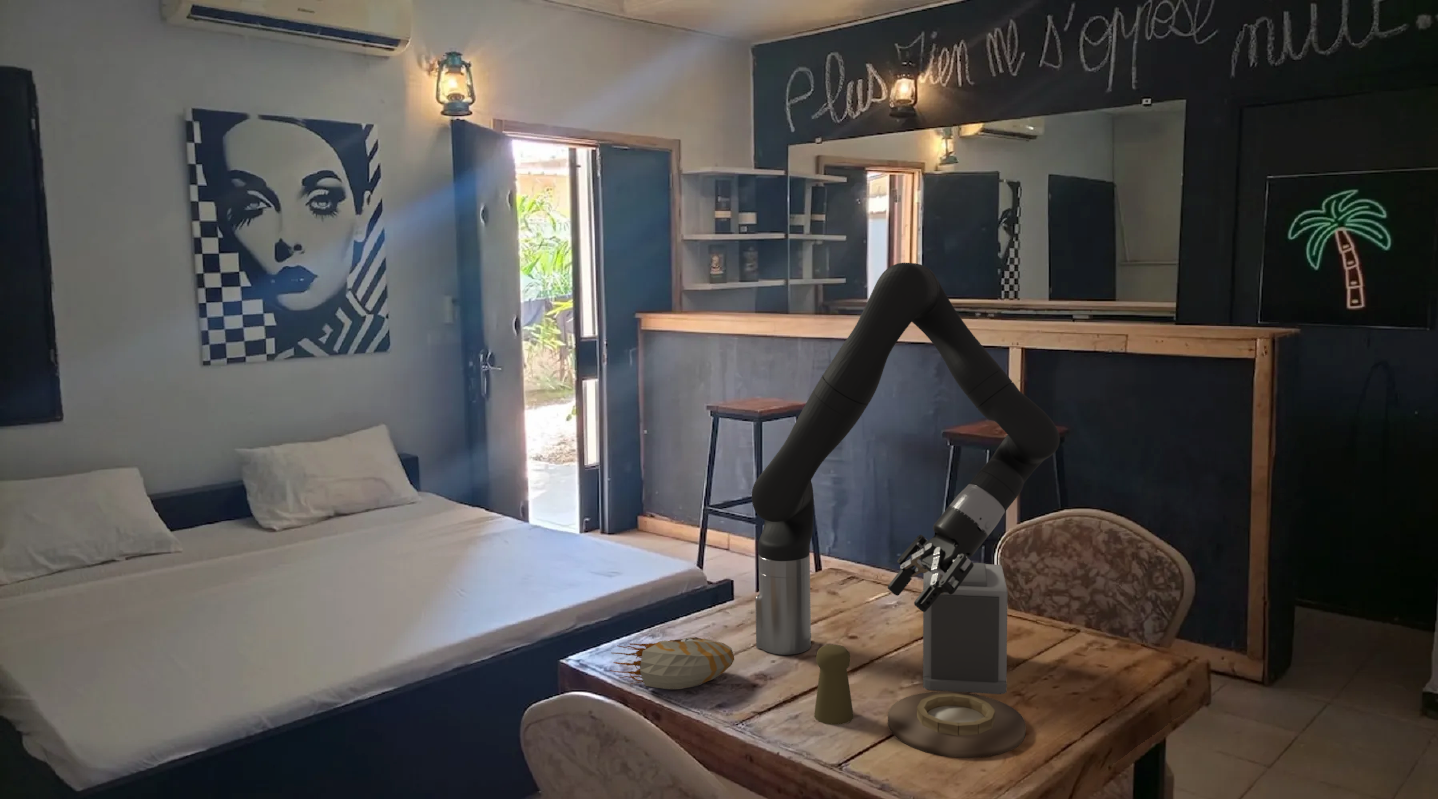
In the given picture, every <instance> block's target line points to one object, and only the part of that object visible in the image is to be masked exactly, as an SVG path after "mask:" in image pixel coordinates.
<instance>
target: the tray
mask: <svg viewBox="0 0 1438 799" xmlns="http://www.w3.org/2000/svg"><path fill="white" fill-rule="evenodd" d="M887 727H888V729H889V731H890V733H891V734H892V735H893V737H895V738H896V739H897V740H898V741H900V742H901V743H903V744H905V745H907V746H909V747H911V748H913V749H915V750H918V751H922V752H925V753H928V754H930V755H931V754H932V755H937V756H941V757H948V758H949V757H950V758H959V759H962V758H965V759H974V758H975V759H976V758H985V757H986V758H987V757H992V756H998V755H1002V754H1004V753H1005V754H1006V753H1007V752H1010V751H1012V750H1014V749H1016V748H1017V747H1019V745H1021V744H1022V743H1023V741H1024V739H1025V737H1026V730H1027V728H1026V727H1027V726H1026V721H1025V719H1024V717H1023V715H1022V714H1021V713H1020V712H1019V711H1018V710H1017V709H1016V708H1014V707H1012V706H1011V705H1008V704H1007V703H1005V702H1003V701H1000V700H999V699H996V698H992V697H990V696H985V695H981V694H978V693H972V692H954V691H937V690H935V691H927V692H921V693H916V694H912V695H908V696H905V697H903V698H900V699H899V700H897V701H896V702H895V703H893V704H892V705H891V706H890V708H889V709H888V712H887Z"/></svg>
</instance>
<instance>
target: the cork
mask: <svg viewBox="0 0 1438 799" xmlns="http://www.w3.org/2000/svg"><path fill="white" fill-rule="evenodd" d="M815 660H816V664H817V666H818V668H819V672H818V673H819V675H818V683H817V689H816V699H815V706H814V714H813V717H814V719H815V720H816V721H818V722H820V723H822V724H825V725H834V726H837V725H844V724H849V723H850V722H852V720H854V709H853V702H852V696H851V689H850V688H851V687H850V682H849V675H848V674H849V673H848V668H849V667H850V663H851V654H850V651H849V650H848V648H846V646H843V645H839V644H826V645H823V646H821V647H820V648H818V649H817V652H816V657H815Z"/></svg>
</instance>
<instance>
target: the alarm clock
mask: <svg viewBox="0 0 1438 799" xmlns="http://www.w3.org/2000/svg"><path fill="white" fill-rule="evenodd" d="M972 563H973V564H974V566H973V568H972V569H971V570H970V572H969V573H968V574H967V576H966V577H965V579H964V580H963V581H962V583H961V584H960V585H959V587H958V588H957V589H956V591H955V592H954V593H953V594H951V595H950V594H949V593H944V594H940V595H939V596H938V597H937V599H936V600H935V601H934V602H933V604H932V605H931V606H930V607H929V608H928V609H927V611H925V612H923V611H922V612H923V613H922V621H923V622H922V623H923V624H922V662H923V663H922V680H923V681H922V687H923V688H924V689H925V690H928V691H954V692H965V693H972V694H990V695H1003V694H1006V693H1007V690H1008V688H1007V687H1008V686H1007V685H1008V682H1007V674H1008V673H1007V670H1008V669H1007V668H1008V666H1007V664H1008V661H1007V660H1008V658H1007V656H1008V655H1007V654H1008V595H1009V594H1008V588H1007V583H1006V579H1005V575H1004V570H1003V567H1002V564H990V563H989V564H986V563H984V562H972ZM931 578H932V573H931V572H930V571H928V572H926V573H923V578H922V579H923V586H922V587H923V588H922V589H923V590H924V589H925V588H926V586H927V585H930V586H931V584H930V582H931ZM954 580H955V578H954V577H953V576H952V579H951V582H949V583H950V584H952V583H953V581H954ZM939 581H940V580H939ZM923 590H922V591H923Z"/></svg>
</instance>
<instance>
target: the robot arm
mask: <svg viewBox="0 0 1438 799" xmlns="http://www.w3.org/2000/svg"><path fill="white" fill-rule="evenodd" d="M869 295H870V296H869V298H868V300H867V301H866V304H865V306H864V308H863V309H862V310H863V311H862V312H861V314H860V316H859V319H858V320H857V322H856V324H855V326H854V327H853V329H852V331H851V332H850V334H849V335H848V337H847V338H846V339H845V341H844V343H842V345H841V346H840V348H839V350H838V351H837V352H836V354H835V356H834V357H833V359H832V360H831V362H830V364H829V365H828V366H827V368H826V370H824V372H823V373H822V374H823V375H822V376H821V377H820V379H819V381H818V382H817V384H816V385H815V387H814V388H813V390H812V392H811V394H810V396H809V398H807V401H806V403H805V405H804V407H803V408H802V410H801V411H800V413H799V415H798V417H797V419H796V421H795V423H794V424H793V426H792V428H791V431H790V433H789V434H788V437H787V438H786V439H785V441H784V443H783V445H782V446H781V447H780V449H779V450H778V452H777V453H776V454H775V456H774V457H773V458H772V460H771V461H770V462H769V463H768V465H767V466H765V468H764V470H763V471H762V472H761V473H760V474H759V476H758V477H757V478H756V479H755V482H754V484H753V486H752V489H751V503H752V507H753V509H754V511H755V513H756V514H757V516H759V517H760V518H761V519H762V520H764V523H763V524H764V525H763V528H762V531H761V534H760V537H759V540H758V544H757V546H758V548H757V550H758V583H759V585H758V589H759V590H758V591H759V593H758V595H756V596H755V601H754V602H755V604H754V605H755V644H756V646H755V647H756V649H761V650H763V651H765V652H767V653H770V654H773V655H774V654H775V655H787V656H789V655H798V654H802V653H804V652H806V651H808V650H810V648H811V647H812V643H811V642H812V639H811V638H812V628H811V626H812V624H811V618H812V617H811V611H812V610H811V555H810V551H811V550H810V548H811V541H812V538H813V533H814V488H813V483H812V479H813V477H814V475H815V474H816V472H817V471H818V469H819V467H820V466H821V465H822V463H823V462H824V461H825V460H826V458H828V456H830V454H831V453H832V452H833V451H834V450H835V449H836V448H837V446H839V445H840V443H842V441H843V440H844V439H845V438H846V436H847V435H848V434H849V433H850V432H851V430H852V429H853V428H854V427H855V425H856V424H857V422H858V421H859V419H860V418H861V417H862V415H863V413H864V412H865V410H866V408H867V407H868V406H869V404H870V402H871V401H872V399H873V397H874V395H875V393H876V391H877V390H878V386H879V384H880V381H881V378H882V377H883V372H884V369H885V366H886V363H887V361H888V358H889V356H890V353H891V352H892V350H893V348H894V347H895V345H896V344H897V342H898V340H900V338H901V336H902V335H903V334H904V332H905V331H906V330H907V328H908V327H909V326H910V325H911V323H912V324H913V325H915V326H916V327H917V328H918V329H919V330H920V331H921V332H922V333H923V334H924V335H925V336H926V337H927V338H928V339H929V341H930V342H931V343H932V344H933V346H934V347H935V349H936V350H937V351H938V353H939V354H940V356H941V357H942V359H943V361H944V363H945V365H946V366H947V368H948V370H949V373H950V374H951V375H952V378H954V381H955V382H956V383H957V385H958V386H959V387H960V389H961V390H962V392H963V393H964V394H965V395H966V397H967V398H968V399H969V400H970V401H971V403H972V404H973V405H974V406H975V408H977V410H978V412H979V413H981V414H982V416H983V417H984V418H986V419H987V420H989V421H993V422H995V423H996V424H997V425H998V426H999V427H1000V428H1001V430H1003V431H1004V432H1005V433H1006V436H1005V437H1004V438H1003V440H1002V442H1000V444H999V446H998V447H997V449H996V450H995V451H994V453H993V454H992V456H991V458H990V459H989V460H988V461H987V462H986V463H985V464H984V465H983V466H982V468H980V470H979V471H978V472H977V473H976V475H975V476H974V477H973V478H972V480H971V481H970V482H969V484H967V486H965V487H964V488H963V489H962V490H961V492H960V493H958V494H957V495H956V497H955V498H954V500H952V501H951V503H950V504H949V505H948V507H947V508H946V509H945V510H944V511H943V513H942V514H940V517H939V518H938V519H937V520H936V521H935V522H934V524H933V526H932V529H933V532H934V535H933V537H932V538H930V539H927V538H926V537H925V536H924V535H923V534H919V535H917V537H916V538H915V539H914V540H913V542H911V544H910V545H909V546H908V547H907V548H905V549H906V550H905V551H904V552H903V553H902V554H901V555H900V556H899V557H898V558H897V561H896V562H897V563H898V564H899V566H900V570H899V571H898V573H896V575H895V576H894V578H892V580H891V581H889V582H890V583H889V584H888V585H887V589H888V590H889V591H890V592H891V593H892V594H893V595H895V596H897V597H898V596H899V595H900V594H902V592H903V591H904V589H906V588H907V586H908V585H909V583H911V581H912V579H913V578H914V577H916V576H917V575H919V574H921V573H922V574H924V573H926V572H928V571H930V572H931V573H932V578H931V582H930V584H931V586H930V585H927V586H926V588H925V589H924V590H922V591H921V592H920V594H919V595H918V596H917V598H916V599H915V600H914V602H913V604H914V606H915V607H916V608H917V609H918V610H920V611H921V612H925V611H927V609H928V608H929V607H930V606H931V605H932V604H933V602H934V601H935V600H936V599H937V597H938V596H939V595H940V594H944V593H949V594H950V595H951V594H953V593H954V592H955V591H956V589H957V588H958V587H959V585H960V584H961V583H962V581H963V580H964V579H965V577H966V576H967V574H968V573H969V572H970V570H971V569H972V568H973V566H974V564H973V563H974V562H972V560H970V558H971V557H973V556H974V555H975V553H976V552H977V550H978V549H979V548H980V547H981V546H982V545H983V543H984V542H985V541H986V540H987V538H988V537H989V536H990V534H992V532H993V530H994V529H995V528H996V527H997V526H998V524H999V522H1000V521H1001V519H1002V517H1003V515H1004V514H1005V513H1006V511H1007V510H1008V509H1009V508H1010V506H1011V505H1012V504H1013V502H1014V501H1015V500H1016V499H1017V498H1018V496H1019V495H1020V493H1021V491H1022V490H1023V488H1024V484H1025V483H1026V481H1027V480H1028V479H1029V477H1031V475H1032V474H1033V473H1034V471H1036V469H1037V468H1038V467H1039V466H1040V465H1041V464H1042V463H1043V462H1044V461H1045V460H1047V459H1048V458H1050V457H1052V456H1053V455H1054V454H1055V453H1056V452H1057V450H1058V448H1059V446H1060V442H1061V439H1060V437H1061V436H1060V433H1059V430H1058V428H1057V426H1056V424H1055V423H1054V422H1053V420H1052V419H1051V417H1050V416H1049V415H1048V414H1047V413H1046V412H1045V411H1044V410H1043V409H1042V408H1041V407H1039V406H1038V404H1036V403H1035V402H1034V401H1033V400H1031V399H1030V398H1029V397H1028V396H1026V395H1025V394H1024V393H1023V392H1022V391H1020V390H1019V388H1018V387H1017V386H1016V384H1015V383H1014V382H1013V380H1012V379H1011V378H1010V376H1008V374H1007V373H1006V372H1005V370H1004V369H1002V367H1001V366H1000V365H999V363H997V361H996V360H995V359H994V357H993V356H992V355H991V354H990V353H989V352H988V350H986V349H985V346H983V344H981V343H980V341H979V340H978V339H977V338H976V336H975V335H974V334H973V333H972V331H971V330H970V328H968V326H967V324H966V323H965V322H964V320H963V319H962V317H960V315H959V314H958V311H957V310H956V309H955V307H954V306H953V304H952V302H951V301H950V298H949V297H948V295H947V293H946V292H945V290H944V288H943V287H942V285H941V283H940V281H939V279H938V278H937V277H936V274H935V273H934V272H933V271H932V269H930V268H929V267H927V266H926V265H923V264H920V263H915V262H900V263H899V262H898V263H895V264H893V265H891V266H889V267H887V268H886V269H885V270H884V271H883V272H882V273H881V275H880V276H879V278H878V280H876V282H875V286H874V287H873V289H872V291H871V294H869ZM909 557H910V558H909ZM908 558H909V559H908ZM907 559H908V560H907ZM952 576H953V577H954V578H955V580H954V581H953V583H952V584H950V583H949V582H951V579H952ZM939 580H940V581H939Z"/></svg>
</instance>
